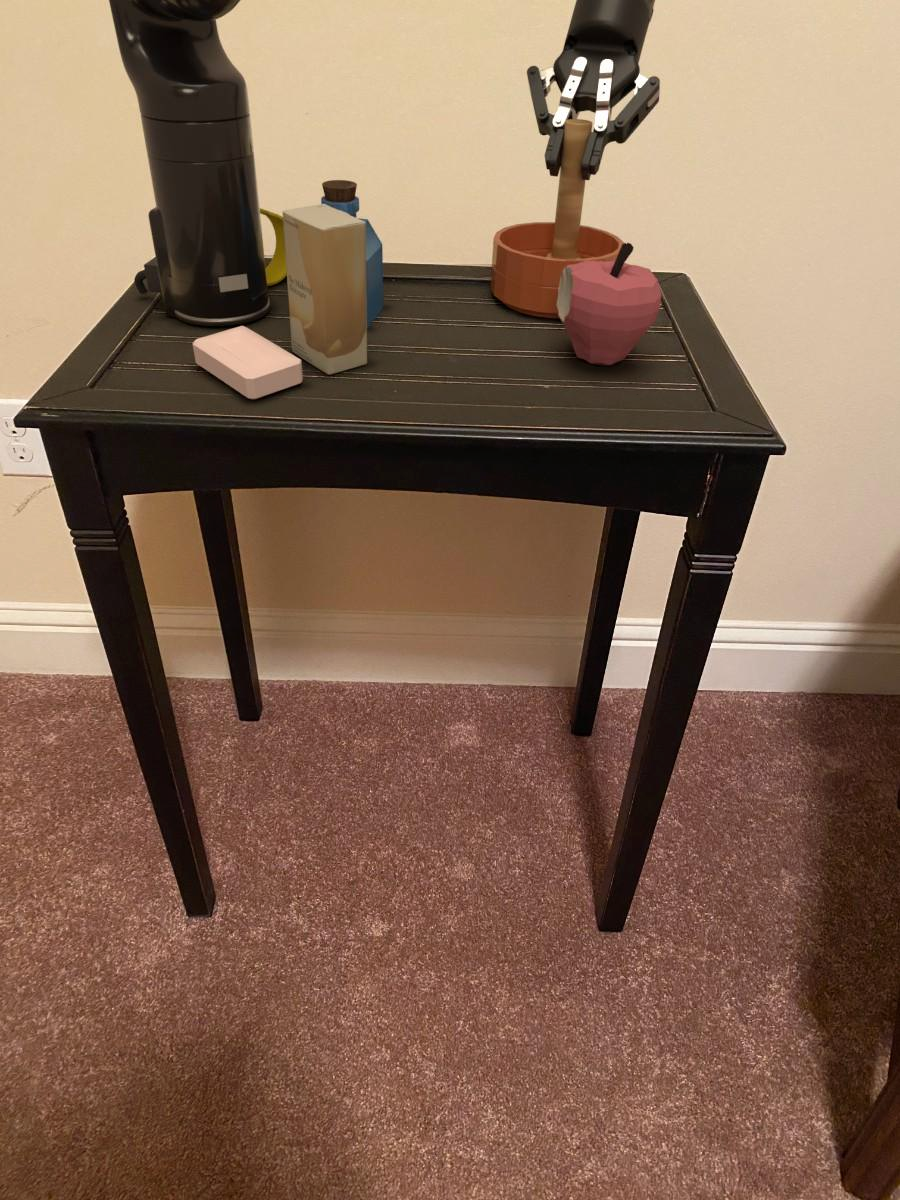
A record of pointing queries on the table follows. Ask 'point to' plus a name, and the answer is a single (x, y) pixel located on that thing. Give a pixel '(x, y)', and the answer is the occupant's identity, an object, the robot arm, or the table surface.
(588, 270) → the apple
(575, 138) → the stick
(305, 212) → the cosmetic box
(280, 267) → the bracelet
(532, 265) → the bowl
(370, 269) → the blue potion bottle
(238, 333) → the soap bar
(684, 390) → the table surface
